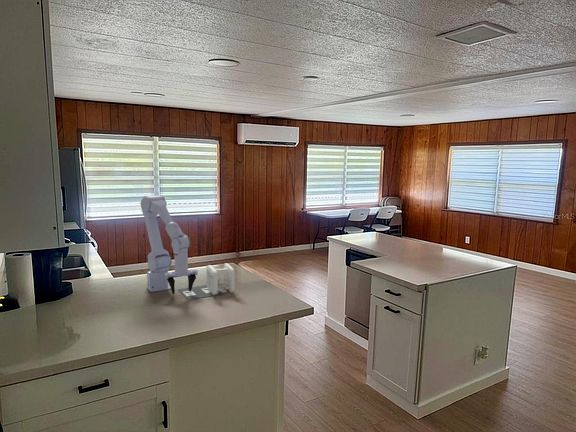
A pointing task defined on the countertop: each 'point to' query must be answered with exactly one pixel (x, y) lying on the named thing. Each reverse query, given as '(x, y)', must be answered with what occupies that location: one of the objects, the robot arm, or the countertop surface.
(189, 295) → the label mat
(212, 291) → the cable organizer
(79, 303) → the countertop surface
